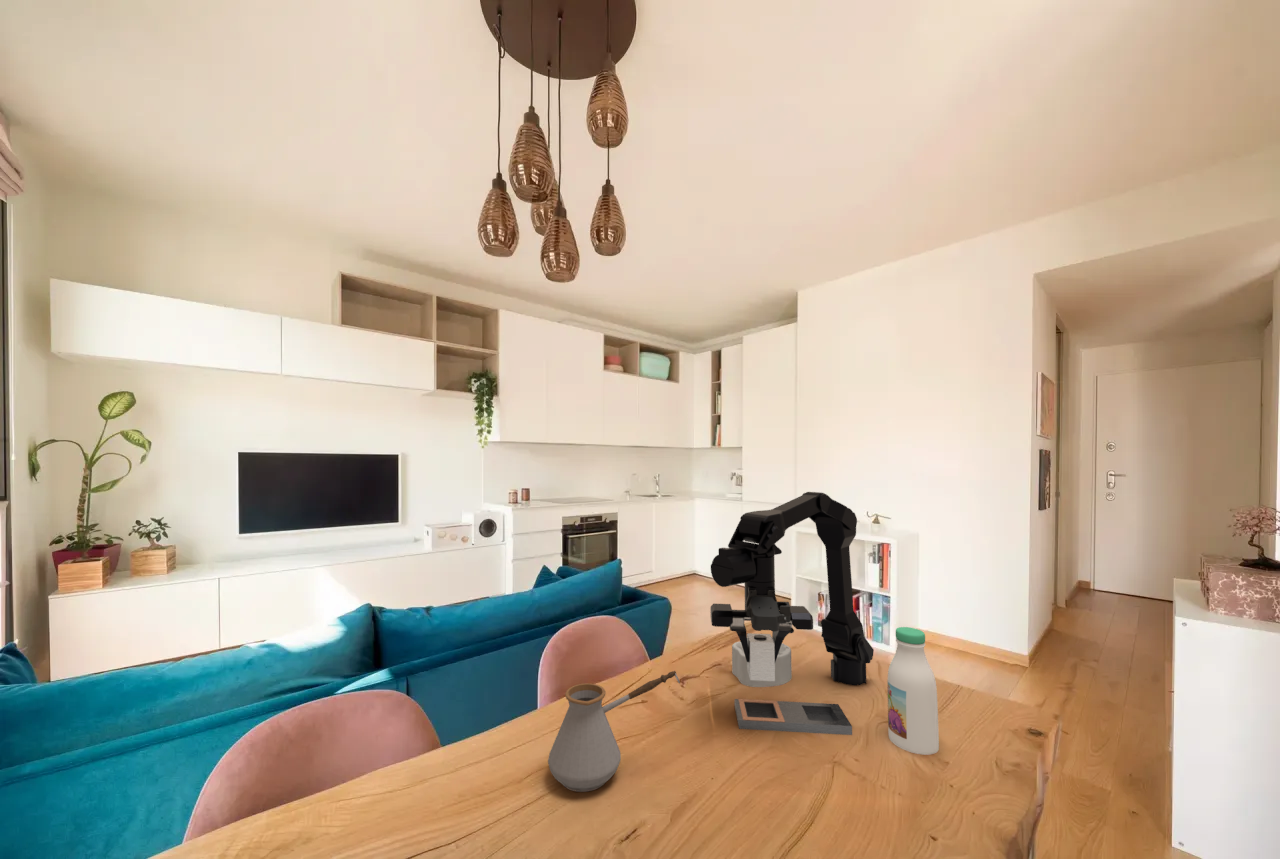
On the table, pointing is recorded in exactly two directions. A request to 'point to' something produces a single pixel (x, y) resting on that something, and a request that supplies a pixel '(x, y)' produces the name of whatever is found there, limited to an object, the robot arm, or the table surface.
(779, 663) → the lumpy-topped squat cylinder
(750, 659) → the block
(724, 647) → the table surface
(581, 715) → the coffee pot
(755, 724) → the grey flat block
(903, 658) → the milk bottle
